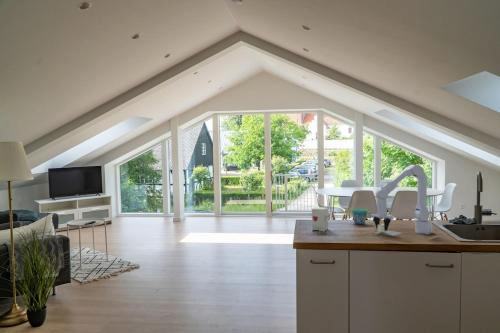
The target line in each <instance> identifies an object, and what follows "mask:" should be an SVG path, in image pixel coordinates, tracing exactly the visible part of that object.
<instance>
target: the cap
mask: <svg viewBox="0 0 500 333" xmlns="http://www.w3.org/2000/svg"><path fill="white" fill-rule="evenodd" d="M376 230H377V232H386V231H385V229H384V223H380V224H378V226H377V229H376Z"/></svg>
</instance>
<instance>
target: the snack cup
mask: <svg viewBox="0 0 500 333" xmlns="http://www.w3.org/2000/svg"><path fill="white" fill-rule="evenodd" d="M351 213H352V216H353V222H354V224H355V225H364V224H366V220H367V219H366V218H367V214H368V215H369V219H372V217H371V212H370V211H369V210H368V209H365V208H353V209H352V210H349V212H348V219H351Z"/></svg>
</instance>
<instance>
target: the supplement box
mask: <svg viewBox="0 0 500 333" xmlns="http://www.w3.org/2000/svg"><path fill="white" fill-rule="evenodd" d="M327 229H328V230H329V207H324V206H323V207H322V206H321V207H319V206H315V207H313V208H311V231H312V230H319V231H318V232H326V231H328V230H327ZM325 230H326V231H325Z"/></svg>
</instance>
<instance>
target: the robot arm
mask: <svg viewBox="0 0 500 333" xmlns="http://www.w3.org/2000/svg"><path fill="white" fill-rule="evenodd" d="M411 176H413V177H415V178H416V180H417V195H416V196H417V197H416V206H415V209H414V211H413V216H414V217H415V222H414V224H415V225H414V226H415V227H414V228H415V231H414V232H415V233H417V234H426V235H431V234H433V222H432V221H430V220H428V219H429V218H430V213H429V208H428V207H427V196H428V195H427V189H428V176H427V174H426V172H425V170H424V167H422V166H421V165H419V164H409V165H408V166H406V167H405V168H404V169H403V170H402V171H401V172H400V173H398V174H397V176H396V177H395V178H394V179H392V180H387V181H386V183H385V184H384V185H382V186H380V188H379V189H377V190H376V192H375V196H376V213H375V214H374V213H372V214H371V213H370V214H371V218H372V221H373V223H374V225H375V228H376V230H377V226H378V224H381V219H383V220H382V221H383V224H384V229H385V231H389V230H388V228H389V225H390V223H391V222H392V221H393V220H394V216H393V215H387V213H388V212H387V204H388V202H387V198H388V196H389V195H390V193H392V192H393V191H394V190H395V189H396V188H397V187H398V186H397V185H398V184H399V183H400V182H401V181H402V180H404V179H405V178H406V177H411Z"/></svg>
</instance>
